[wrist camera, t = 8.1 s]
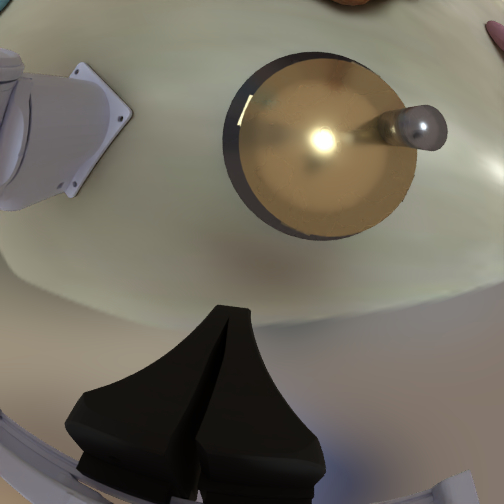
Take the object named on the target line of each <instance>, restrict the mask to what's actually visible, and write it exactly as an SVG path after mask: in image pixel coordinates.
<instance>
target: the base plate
mask: <svg viewBox="0 0 504 504" xmlns="http://www.w3.org/2000/svg"><path fill="white" fill-rule="evenodd" d="M320 58H322V59H336V60H342V61H347V62H350V63H351V62H352V61H353V62H355V63H357V64H358V65H360V66H362V67H364V68H366V69H368V70H370V69H369V68H367V67H366V66H364V65H362V64H360V63H358V62H356V61H354V60H352V59H349V58H346V57H343V56H340V55H336V54H331V53H324V52H302V53H297V54H291V55H288V56H285V57H282V58H279V59H277V60H274V61H272V62H270V63H268V64H266V65H265V66H264V67H262V68H261V69H259V70H258V71H256V72H255V73H254V74H253V75H252V76H251V77H250V78H249V79H247V80H246V82H245V83H244V84H243V85H242V87H241V88H240V89H239V90H238V92H237V94H236V95H235V97H234V99H233V100H232V102H231V105H230V107H229V110H228V112H227V115H226V119H225V123H224V129H223V138H222V139H223V155H224V161H225V165H226V169H227V172H228V175H229V178H230V180H231V182H232V184H233V187H234V188H235V190H236V192H237V193H238V195H239V196H240V198H241V199H242V201H243V202H244V203H245V204H246V205H247V207H248V208H249V209H250V210H251V211H252V212H253V213H254V214H255V215H256V216H257V217H259V218H260V219H261V220H263V221H264V222H265V223H267V224H268V225H270V226H272V227H273V228H275V229H277V230H279V231H281V232H283V233H286V234H288V235H291V236H294V237H298V238H302V239H308V240H320V241H327V240H337V239H342V238H346V237H350V236H353V235H355V234H358V233H355V234H352V235H346V236H336V237H327V236H318V235H313V234H310V236H308V235H306V234H304V233H301V232H299V231H297V230H294V229H292V228H289V227H287V226H285V225H282V224H281V220H279V219H278V218H276V217H275V216H274V215H273V214H272V213H270V212H269V211H268V210H267V209H266V208H265V207H264V206H263V205H262V203H261V202H260V201H259V200H258V198H257V197H256V196H255V194H254V193H253V191H252V189H251V187H250V186H249V184H248V182H247V180H246V177H245V174H244V172H243V169H242V164H241V160H240V153H239V132H240V127H241V126H240V125H237V124H238V122H239V119H240V117H241V114H242V112H243V109H244V107H245V105H246V102H247V100H248V97H249V95H252V96H253V95H254V94H255V92H256V91H257V89H258V88H259V87H260V86H261V85H262V84H263V83H264V82H265V81H266V80H267V79H268V78H270V77H271V76H272V75H273V74H275V73H276V72H278V71H280V70H281V69H283V68H285V67H287V66H290V65H292V64H295V63H297V62H301V61H305V60H310V59H320ZM370 71H371V70H370ZM372 72H373V71H372ZM373 73H374V72H373ZM375 74H376V73H375ZM384 82H385V81H384ZM364 231H365V230H364ZM362 232H363V231H362ZM359 233H361V232H359Z"/></svg>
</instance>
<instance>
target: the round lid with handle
mask: <svg viewBox="0 0 504 504" xmlns="http://www.w3.org/2000/svg"><path fill="white" fill-rule="evenodd" d="M237 125H240V126H241V127H240V132H239V153H240V160H241V164H242V169H243V172H244V174H245V177H246V180H247V182H248V184H249V186H250V187H251V189H252V191H253V193H254V194H255V196H256V197H257V198H258V200H259V201H260V202H261V203H262V205H263V206H264V207H265V208H266V209H267V210H268V211H269V212H270V213H272V214H273V215H274V216H275V217H276V218H278V219H279V220H281V224H282V225H285V226H287V227H289V228H292V229H294V230H297V231H299V232H301V233H304V234H306V235H308V236H310V234H313V235H318V236H327V237H336V236H346V235H352V234H355V233H359V232H362V231H364V230H367V229H369V228H371V227H373V226H375V225H376V224H378V223H380V222H381V221H383V220H384V219H385V218H386V217H388V216H389V215H390V214H391V213H392V212H393V211H394V210H395V209H396V208H397V207H398V205H399V204H400V203H401V201H402V202H403V200H404V198H405V195H406V193H407V191H408V190H409V187H410V185H411V183H412V180H413V178H414V176H415V175H414V173H415V169H416V161H417V149H421V150H427V151H436V150H438V149H440V148H441V147H442V146H443V145H444V143H445V142H446V139H447V133H448V131H447V124H446V121H445V119H444V117H443V115H442V114H441V113H440V112H439V111H438V110H437V109H436V108H434V107H432V106H430V105H421V106H414V107H408V108H405V106H404V104H403V102H402V101H401V99H400V98H399V97H398V95H397V94H396V93H395V92H394V90H393V89H392V88H391V87H390V86H389V85H388V84H387V83H386V82H384V81H383V80H382V79H381V78H380V76H379V75H377V74H375V73H373V72H372V71H370V70H368V69H366V68H364V67H362V66H360V65H358V64H357V63H355V62H353V61H352V62H351V63H350V62H347V61H342V60H336V59H322V58H320V59H310V60H305V61H301V62H297V63H295V64H292V65H290V66H287V67H285V68H283V69H281V70H280V71H278V72H276V73H275V74H273V75H272V76H271V77H270V78H268V79H267V80H266V81H265V82H264V83H263V84H262V85H261V86H260V87H259V88H258V89H257V91H256V92H255V94H254V95H253V96H252V95H249V97H248V100H247V102H246V105H245V107H244V109H243V112H242V114H241V117H240V119H239V122H238V124H237Z"/></svg>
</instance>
